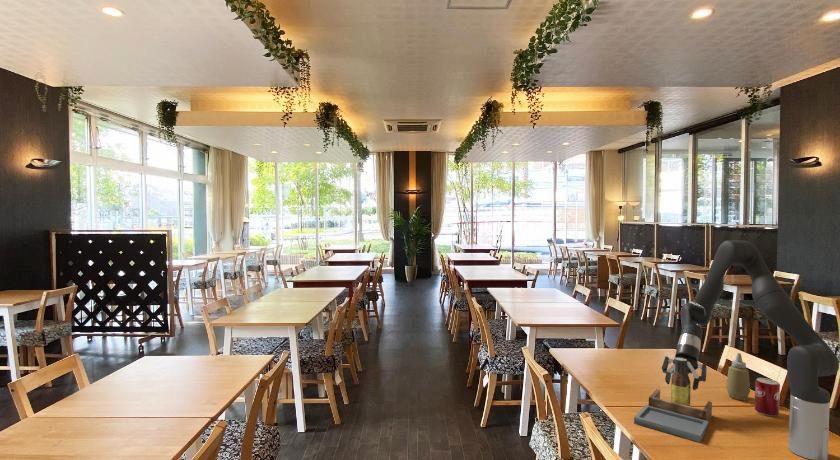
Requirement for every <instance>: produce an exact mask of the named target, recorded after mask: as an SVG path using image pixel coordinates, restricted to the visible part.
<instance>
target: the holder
mask: <svg viewBox="0 0 840 460" xmlns="http://www.w3.org/2000/svg"><path fill="white" fill-rule="evenodd" d="M648 406H652V407H656V408H659V409H663V410H667V411H671V412H675V413H678V414H682V415H686V416H690V417H694V418H698V419H701V420H705V421H708V422H710V419H711V418H712V415H713V412H712V411H713V402H712V401H707V403H706V404H705V406H704V407H703V409H701V408H697V407H693V406H691V405H690V406H686V405H682V404H678V403H674V402H671V400H665V399H661V389H656V390H654V391H653V392H652V394H650V395H649V397H648Z"/></svg>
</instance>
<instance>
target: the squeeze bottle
mask: <svg viewBox="0 0 840 460" xmlns="http://www.w3.org/2000/svg"><path fill="white" fill-rule="evenodd" d="M746 367H747V364H746V362H744V361H743V356H742V354H741V352H737V353H736V356H735V360H732V361H731V365H730V366H728V371H727V377H726V382H725V383H726V384H725V388H726V392H727V394H728V397H729V398H732V399H734V400H738V401H746V400H747V399H748V397H749V395H750V392H751V385H750V375H749V369H748V368H746Z"/></svg>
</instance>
